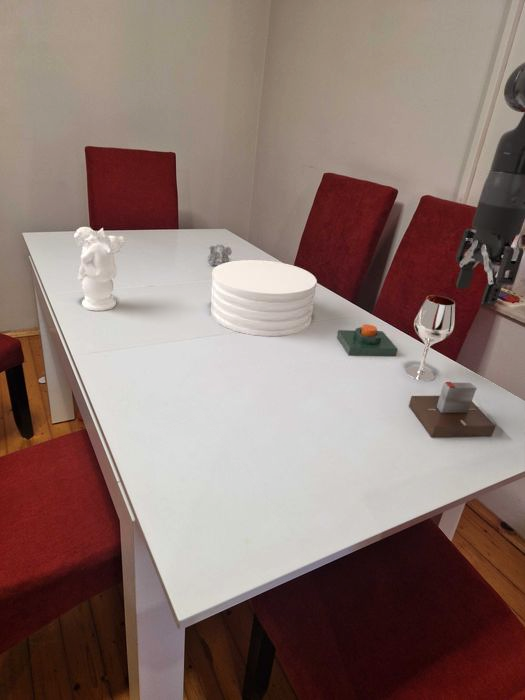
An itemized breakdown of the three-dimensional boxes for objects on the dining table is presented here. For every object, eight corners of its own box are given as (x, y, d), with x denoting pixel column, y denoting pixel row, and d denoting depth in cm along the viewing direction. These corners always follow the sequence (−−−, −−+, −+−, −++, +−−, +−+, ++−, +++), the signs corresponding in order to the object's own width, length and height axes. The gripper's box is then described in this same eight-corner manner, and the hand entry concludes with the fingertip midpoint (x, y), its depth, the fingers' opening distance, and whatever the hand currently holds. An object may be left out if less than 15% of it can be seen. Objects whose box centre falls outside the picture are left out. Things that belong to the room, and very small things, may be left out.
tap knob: (462, 406, 87) (471, 381, 85) (468, 412, 86) (477, 387, 83) (436, 406, 86) (444, 381, 84) (441, 413, 85) (449, 387, 82)
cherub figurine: (75, 301, 123) (66, 219, 113) (118, 293, 131) (113, 216, 121) (93, 316, 115) (86, 230, 105) (138, 307, 123) (135, 226, 113)
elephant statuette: (225, 260, 170) (226, 240, 167) (239, 270, 161) (240, 248, 158) (202, 262, 166) (202, 241, 162) (215, 272, 157) (216, 250, 153)
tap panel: (463, 405, 92) (467, 394, 91) (491, 436, 84) (496, 424, 83) (408, 406, 91) (411, 394, 89) (431, 437, 82) (435, 425, 81)
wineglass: (420, 386, 98) (442, 309, 90) (393, 369, 104) (412, 295, 96) (445, 379, 102) (469, 305, 94) (418, 363, 108) (438, 291, 100)
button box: (380, 338, 119) (383, 324, 117) (395, 356, 110) (399, 342, 108) (336, 337, 117) (339, 323, 115) (348, 356, 108) (351, 341, 106)
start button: (372, 330, 114) (373, 324, 113) (377, 337, 110) (379, 330, 110) (358, 330, 113) (360, 324, 112) (363, 336, 110) (365, 330, 109)
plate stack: (331, 326, 123) (338, 286, 118) (242, 343, 109) (245, 299, 104) (275, 292, 144) (278, 256, 138) (194, 303, 129) (194, 264, 124)
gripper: (555, 212, 67) (517, 312, 75) (499, 196, 80) (471, 284, 87) (509, 208, 66) (475, 311, 74) (460, 193, 79) (435, 282, 86)
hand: (473, 296), depth 81 cm, fingers open, 8 cm apart
